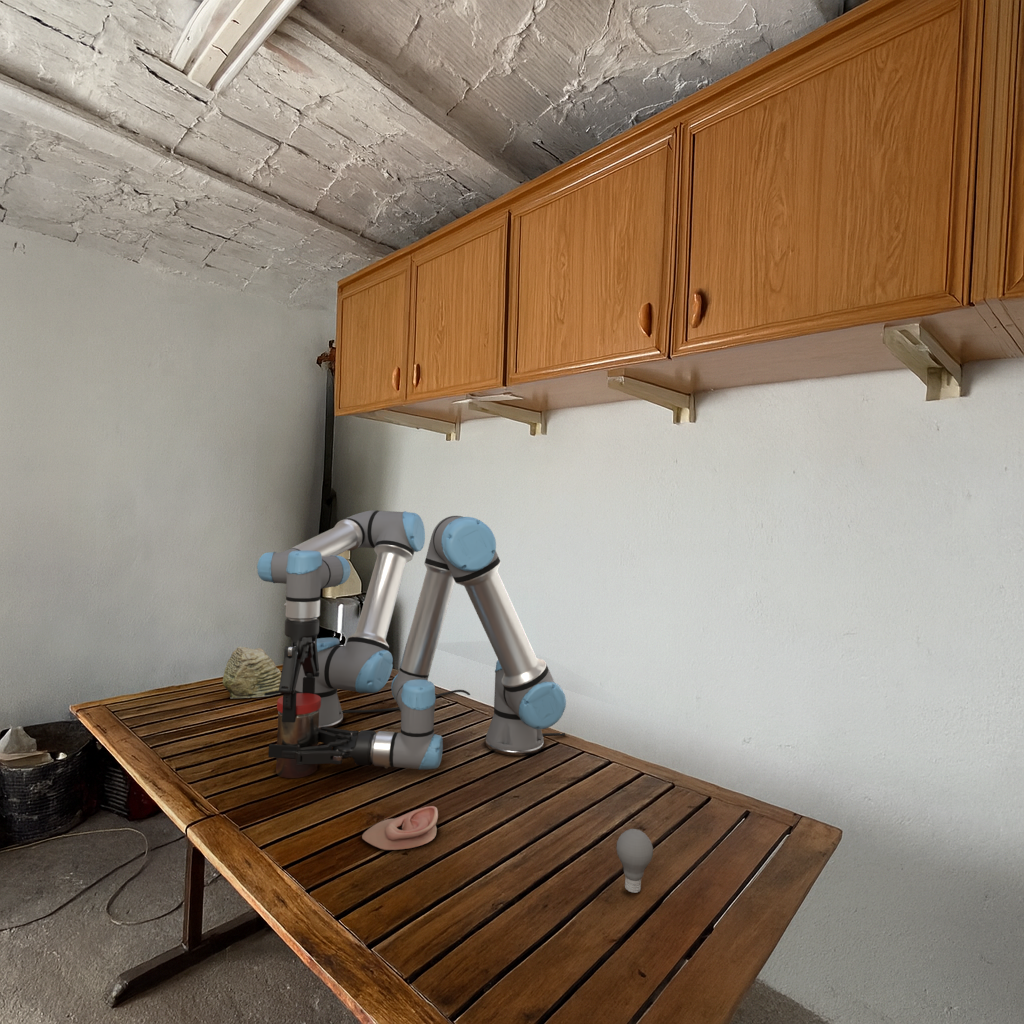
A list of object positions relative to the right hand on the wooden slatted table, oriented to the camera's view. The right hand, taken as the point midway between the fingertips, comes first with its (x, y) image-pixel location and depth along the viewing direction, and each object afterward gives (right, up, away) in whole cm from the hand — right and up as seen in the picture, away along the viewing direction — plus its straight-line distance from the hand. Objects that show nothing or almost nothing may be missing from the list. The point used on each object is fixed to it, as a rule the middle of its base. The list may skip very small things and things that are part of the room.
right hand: (278, 742), depth 146 cm
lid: (+5, +10, 0) cm, 11 cm away
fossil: (-27, -4, +52) cm, 58 cm away
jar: (+4, -6, 0) cm, 8 cm away
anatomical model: (+33, -8, -27) cm, 43 cm away
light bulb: (+74, -10, -41) cm, 85 cm away
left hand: (+5, +7, 0) cm, 8 cm away
